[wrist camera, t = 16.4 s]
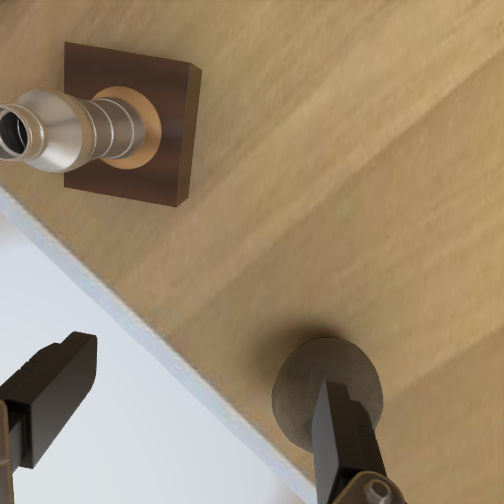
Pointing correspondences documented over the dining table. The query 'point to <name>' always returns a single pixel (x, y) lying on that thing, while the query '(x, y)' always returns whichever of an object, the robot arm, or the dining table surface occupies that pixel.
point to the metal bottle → (68, 130)
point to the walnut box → (153, 113)
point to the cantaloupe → (310, 380)
